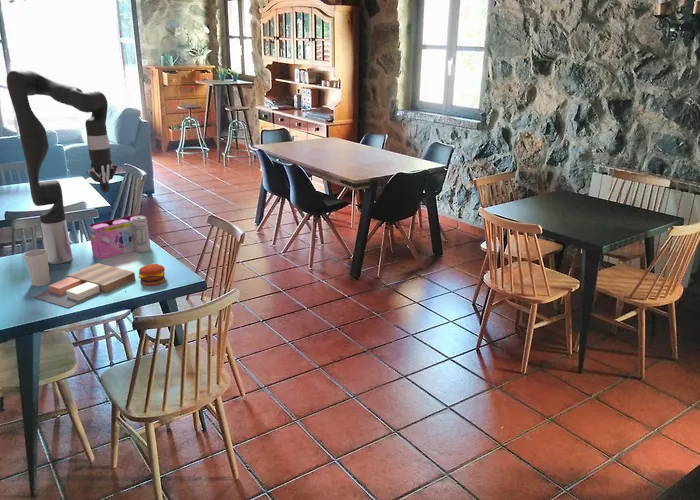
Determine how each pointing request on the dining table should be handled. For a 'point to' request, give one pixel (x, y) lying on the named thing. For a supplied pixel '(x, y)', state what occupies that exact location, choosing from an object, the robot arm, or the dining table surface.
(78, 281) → the terracotta card box
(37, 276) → the cup
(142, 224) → the energy drink can
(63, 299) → the slate mat
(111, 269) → the walnut board
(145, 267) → the hamburger
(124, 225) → the gum box
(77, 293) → the cream card box
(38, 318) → the dining table surface
